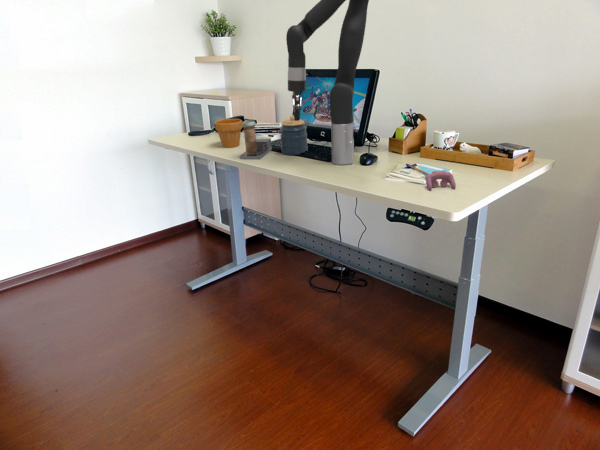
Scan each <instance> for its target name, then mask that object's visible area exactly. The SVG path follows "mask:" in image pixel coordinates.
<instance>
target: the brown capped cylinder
mask: <svg viewBox="0 0 600 450" xmlns="http://www.w3.org/2000/svg"><path fill="white" fill-rule="evenodd" d="M255 127H256V121H253V120H252V121H251V120H250V121H249V120H248V121H242V128H243V135H244V144H245V152H246V154H247V155H255V154H257V147H256V139H257V137H256V128H255Z"/></svg>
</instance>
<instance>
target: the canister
mask: <svg viewBox="0 0 600 450" xmlns="http://www.w3.org/2000/svg"><path fill="white" fill-rule="evenodd" d="M280 124H281V127H279V130H280V135H279V137H280V144H281V145H280V146H281V147H280V149H281V154H283V155H287V156H298V155H301V154H300V153H303V152H305V151H307V152H308V149H309V147H308V133H307V129H308V127H307V125H306V124H305V121H304V120H302V119H301V118H300V120H299V121H295V120H294V114H291V115H290V116H289V118H287V119H284V120H283V121H282V122H281V123H280Z"/></svg>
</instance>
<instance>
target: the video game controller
mask: <svg viewBox="0 0 600 450" xmlns="http://www.w3.org/2000/svg"><path fill="white" fill-rule="evenodd" d="M454 178H455V177H454V175H453V174H452V173H451V172H450V171H446V170H436V171H435V170H434V171H431V172H429V173H427V174H426V175H425V179H424V180H425V184H426V188H427V190H428V191H432V188H438V187H439V185H440V187H442V188H445V187H447V186H448V185H450V187H451V188H452V189H453V190H455V188H456V186H457V185H456V180H455V179H454ZM438 180H440V182H439V181H438Z"/></svg>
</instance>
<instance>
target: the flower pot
mask: <svg viewBox="0 0 600 450" xmlns="http://www.w3.org/2000/svg"><path fill="white" fill-rule="evenodd" d="M242 123H243V120H242V119H240V118H225V119H220V120H219V119H218V120H216V121H214V128H215V130H216V131H217V134H218V137H219V139H220V142H221V145H222V147H223V148H227V149H228V148H237V147H239V146H240V143H241V142H240V141H241V135H242V134H241V132H242V129H243V127H242Z"/></svg>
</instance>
